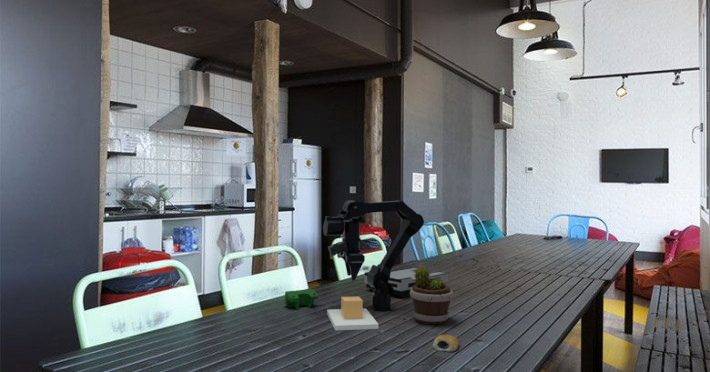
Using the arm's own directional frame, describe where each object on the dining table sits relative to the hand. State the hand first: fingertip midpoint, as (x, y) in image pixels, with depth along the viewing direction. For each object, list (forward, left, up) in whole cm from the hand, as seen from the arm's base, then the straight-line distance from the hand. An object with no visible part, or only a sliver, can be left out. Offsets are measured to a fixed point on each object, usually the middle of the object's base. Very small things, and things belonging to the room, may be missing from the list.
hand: (351, 277), depth 181 cm
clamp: (+17, -8, -12) cm, 23 cm away
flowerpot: (-25, +16, -12) cm, 32 cm away
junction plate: (+2, +13, -12) cm, 18 cm away
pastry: (-20, +43, -12) cm, 49 cm away
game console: (-31, -33, -13) cm, 47 cm away
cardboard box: (+2, +13, -10) cm, 17 cm away
